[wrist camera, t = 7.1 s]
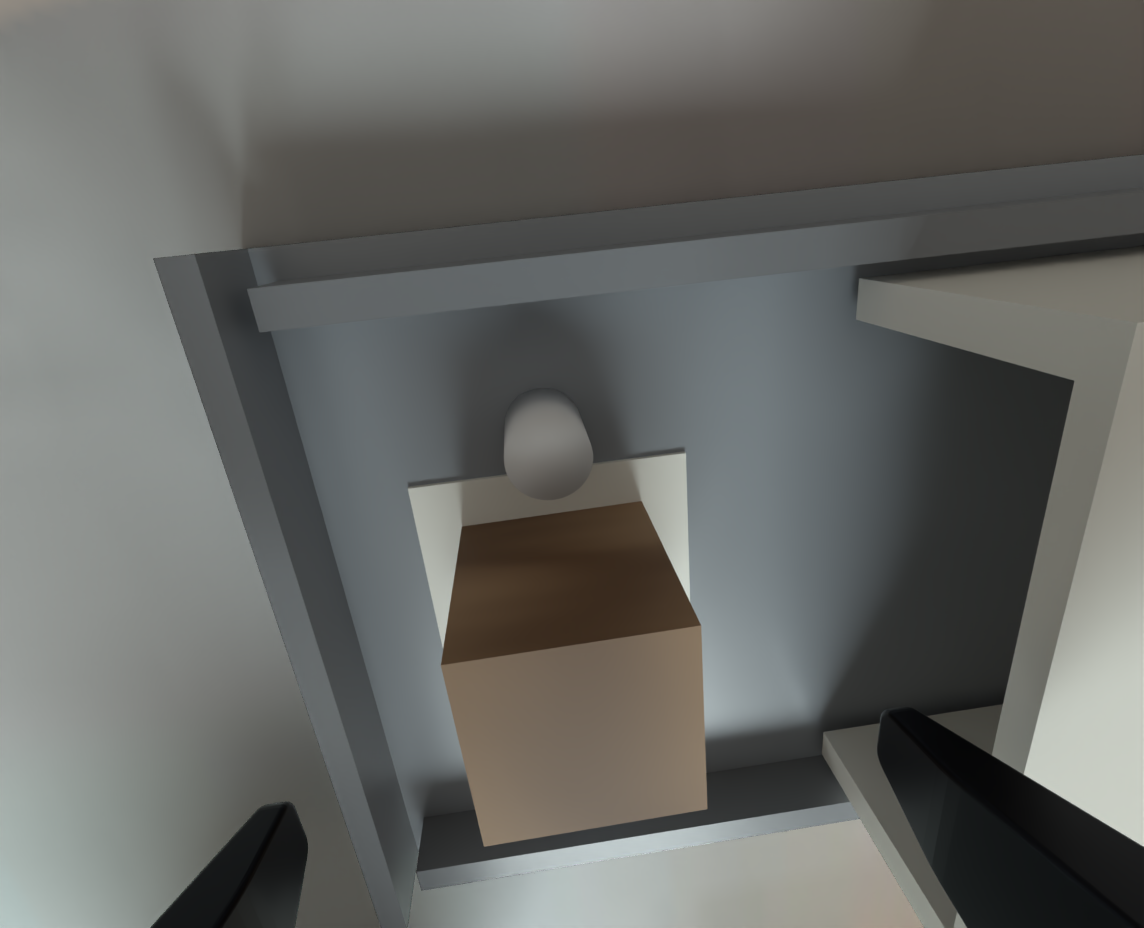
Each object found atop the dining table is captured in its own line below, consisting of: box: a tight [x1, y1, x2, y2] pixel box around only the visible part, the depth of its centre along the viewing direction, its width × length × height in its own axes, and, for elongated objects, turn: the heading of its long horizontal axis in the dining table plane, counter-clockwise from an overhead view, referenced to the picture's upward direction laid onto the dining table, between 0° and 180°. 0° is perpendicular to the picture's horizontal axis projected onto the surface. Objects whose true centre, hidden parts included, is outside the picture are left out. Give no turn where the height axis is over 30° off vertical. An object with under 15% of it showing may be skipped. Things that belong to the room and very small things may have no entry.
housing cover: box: [822, 246, 1144, 928], centre depth 12 cm, size 9×13×6 cm
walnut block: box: [441, 501, 707, 847], centre depth 12 cm, size 4×4×4 cm
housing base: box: [153, 154, 1144, 928], centre depth 14 cm, size 22×16×3 cm
